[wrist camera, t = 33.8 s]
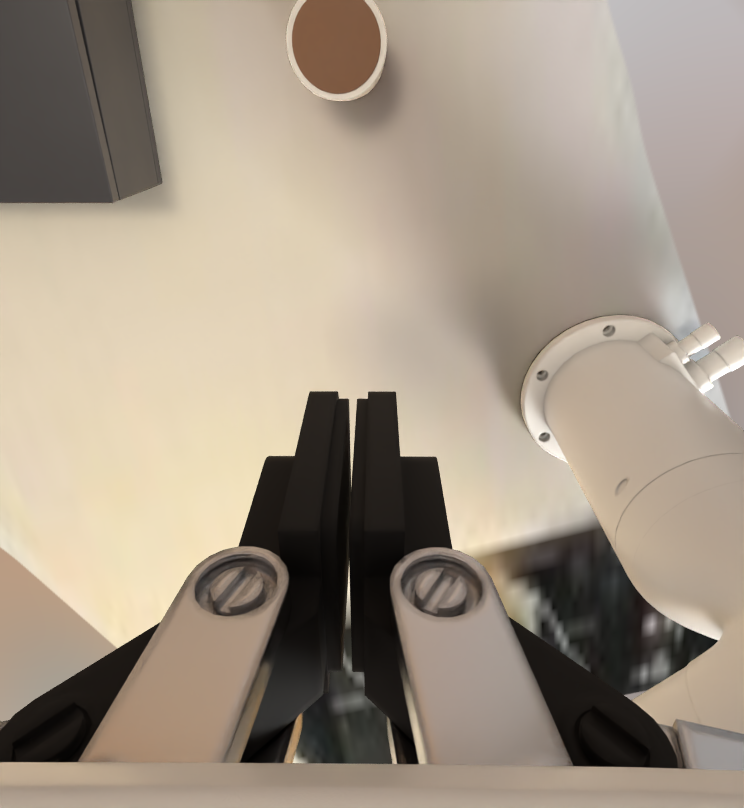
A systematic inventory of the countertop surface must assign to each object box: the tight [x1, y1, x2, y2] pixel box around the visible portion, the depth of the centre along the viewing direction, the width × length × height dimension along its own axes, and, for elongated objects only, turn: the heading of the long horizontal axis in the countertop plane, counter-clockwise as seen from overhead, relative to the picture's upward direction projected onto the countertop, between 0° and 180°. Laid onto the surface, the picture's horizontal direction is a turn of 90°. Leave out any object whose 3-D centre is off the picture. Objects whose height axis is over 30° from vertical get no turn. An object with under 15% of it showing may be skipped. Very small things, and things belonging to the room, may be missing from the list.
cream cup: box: [286, 0, 387, 101], centre depth 29 cm, size 5×5×9 cm
